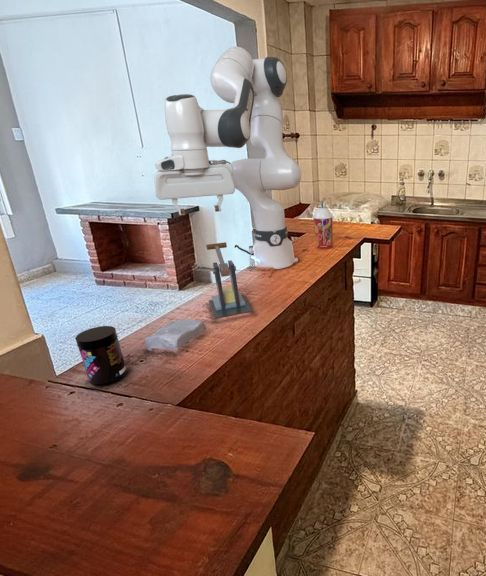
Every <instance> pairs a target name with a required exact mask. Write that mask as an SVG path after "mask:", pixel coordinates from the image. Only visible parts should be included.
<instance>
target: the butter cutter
mask: <svg viewBox="0 0 486 576" xmlns="http://www.w3.org/2000/svg"><path fill="white" fill-rule="evenodd" d="M227 264H228V267H229V272H230V276H229V279H230V283H231V285H232V290H233V292H234V298H235V303H236V306H237V307H233V308H227V309H226V308H225V302H224V296H223V290H222V287H223V284H222V279H221V278H222V277H221V273H220V269H219V263H217V262H212V266H213V268H212V274H213V275H214V278H215V279H214V280H215V284H216V291H217V295H218V297H219V302H220V305H221V308H222V310H217V311H216V309H215V306H214V303H213V300H212V299H209V300H208V303H209V306H210V309H211V312H212V315H213V317H214V320H219V319H222V318H228V317H231V316H232V317H233V316H237V315H242V314H243V315H244V314H247V313H248V314H249V313H251V312H254V310H253V309H252V307H251V305H250V303H249V302H248V299H247V298H246V297H245V295H244V294H243V293H242V294H241V296H242V298H243V300H244V301H245V304H246V305H243V306H240V301H239V294H238V291H239V289H238V282H237V274H236V271H237V267H236V265H235V264H234V262H233V261H232V260H231V259H230V260H227Z"/></svg>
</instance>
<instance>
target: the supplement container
mask: <svg viewBox="0 0 486 576" xmlns="http://www.w3.org/2000/svg"><path fill="white" fill-rule="evenodd" d="M75 342H76V345H77V348H78V351H79V354H80V357H81V360H82V363H83V366H84V370H85V373H86V376H87V378H88V382H89V384H91V386H94V387H98V388H99V387H108V386H111V385H114V384H116V383H119V382H120V381H122V380H123V379H124V378H125V377H126V375H127V372H128V371H127V367H126V363H125V359H124V355H123V352H122V349H121V345H120V341H119V336H118V332H117V330H116V327H114V326H111V325H102V326H101V325H100V326H96V327H95V326H94V327H92V328H89V329H86V330H83V331H81V332H79V333H78V334H77V335H76V336H75Z"/></svg>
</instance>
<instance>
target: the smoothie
mask: <svg viewBox="0 0 486 576" xmlns="http://www.w3.org/2000/svg"><path fill="white" fill-rule="evenodd" d="M320 206H321V207H319V208H317V209H316V211H314V214H313V216H312V219H313V225H314V234H315V240H316V246H317V247H318V249H322V250H323V249H324V250H325V249H330V248H332V245H333V219H334V218H333V217H334V216H333V214H332V213H331V211H330V210H329V209H328V208H326V207H324V201H323V200H322V201H320ZM330 245H331V246H330ZM320 246H327V247H320Z"/></svg>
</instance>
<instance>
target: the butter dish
mask: <svg viewBox="0 0 486 576" xmlns="http://www.w3.org/2000/svg"><path fill="white" fill-rule="evenodd" d="M222 290H223V296H224V302H225V308H226V309H227V308H233V307H237V306H236V303H235V298H234V292H233V290H232V284H231V285H226V286H222ZM238 294H239V301H240V306H243V305H246V304H245V301H244V300H243V298H242V296H241V295H242V294H241V293H240V291H239V290H238ZM211 300H213V303H214V306H215V309H216V311H217V310H222V308H221V305H220V302H219V297H218V294H216V295H211Z"/></svg>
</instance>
